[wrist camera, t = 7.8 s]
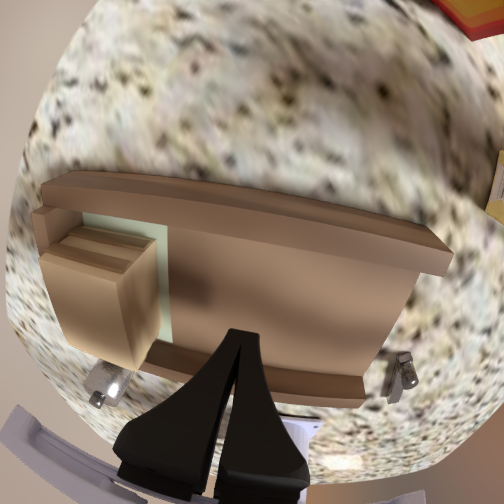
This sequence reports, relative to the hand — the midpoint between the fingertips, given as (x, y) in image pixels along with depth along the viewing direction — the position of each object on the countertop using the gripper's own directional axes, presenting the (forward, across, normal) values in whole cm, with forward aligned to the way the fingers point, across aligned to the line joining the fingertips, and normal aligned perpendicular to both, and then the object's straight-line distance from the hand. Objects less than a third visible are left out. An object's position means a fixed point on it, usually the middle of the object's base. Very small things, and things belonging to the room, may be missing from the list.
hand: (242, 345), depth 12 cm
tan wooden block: (+3, +8, 0) cm, 8 cm away
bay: (+4, +2, 0) cm, 4 cm away
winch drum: (+4, +10, +8) cm, 13 cm away
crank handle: (+4, -12, +6) cm, 14 cm away
